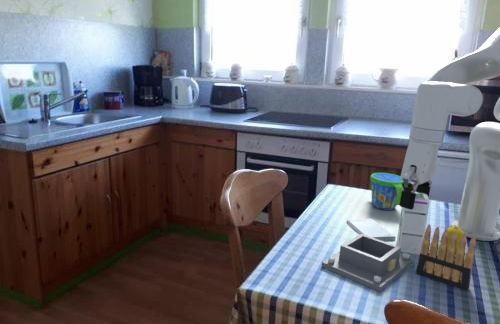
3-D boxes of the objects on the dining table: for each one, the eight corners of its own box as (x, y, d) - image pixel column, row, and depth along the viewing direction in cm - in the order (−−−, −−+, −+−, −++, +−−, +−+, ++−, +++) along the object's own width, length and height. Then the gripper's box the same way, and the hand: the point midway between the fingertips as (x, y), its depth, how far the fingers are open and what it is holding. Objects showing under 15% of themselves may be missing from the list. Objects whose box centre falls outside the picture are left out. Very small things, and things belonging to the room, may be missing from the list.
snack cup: (410, 216, 128) (415, 184, 125) (378, 215, 126) (383, 184, 124) (387, 198, 143) (392, 170, 140) (359, 198, 141) (362, 170, 139)
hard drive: (396, 236, 110) (372, 218, 121) (368, 237, 108) (347, 219, 119) (395, 242, 110) (371, 223, 122) (367, 243, 108) (346, 224, 120)
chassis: (359, 243, 106) (361, 226, 105) (413, 263, 97) (416, 245, 96) (321, 266, 93) (323, 247, 92) (379, 292, 84) (383, 271, 83)
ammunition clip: (415, 273, 93) (423, 224, 90) (417, 270, 94) (426, 221, 91) (467, 291, 87) (478, 239, 84) (469, 288, 88) (480, 236, 85)
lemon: (463, 255, 103) (469, 225, 101) (461, 264, 99) (468, 233, 97) (439, 249, 106) (445, 220, 104) (436, 257, 101) (442, 227, 99)
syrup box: (421, 255, 102) (431, 200, 98) (396, 251, 103) (405, 196, 99) (419, 246, 107) (428, 193, 103) (395, 242, 108) (403, 189, 105)
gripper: (423, 130, 106) (412, 193, 110) (396, 135, 94) (384, 206, 98) (454, 135, 102) (441, 201, 106) (430, 141, 89) (416, 216, 93)
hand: (413, 203), depth 102 cm, fingers open, 9 cm apart
